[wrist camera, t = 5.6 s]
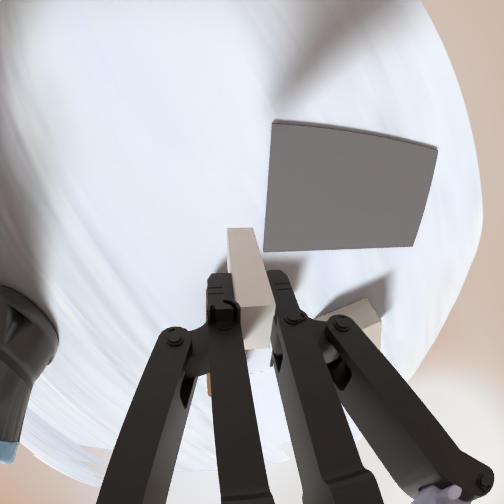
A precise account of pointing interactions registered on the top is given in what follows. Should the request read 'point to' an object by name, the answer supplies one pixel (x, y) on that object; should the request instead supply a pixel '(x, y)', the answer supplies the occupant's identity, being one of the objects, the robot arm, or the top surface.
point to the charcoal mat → (343, 190)
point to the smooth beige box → (361, 318)
